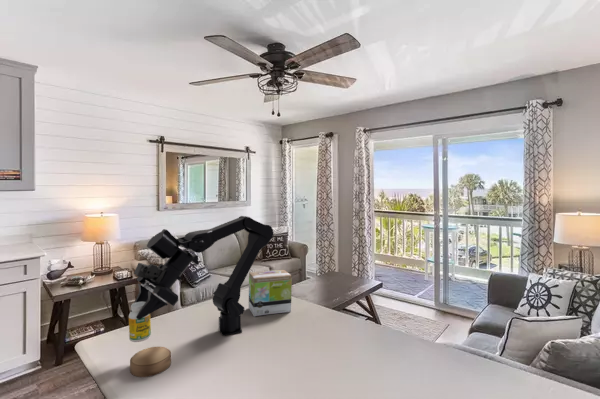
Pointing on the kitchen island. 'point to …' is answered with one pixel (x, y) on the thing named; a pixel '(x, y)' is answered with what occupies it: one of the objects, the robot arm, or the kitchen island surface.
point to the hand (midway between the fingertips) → (134, 315)
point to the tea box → (269, 292)
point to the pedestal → (150, 361)
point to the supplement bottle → (139, 324)
